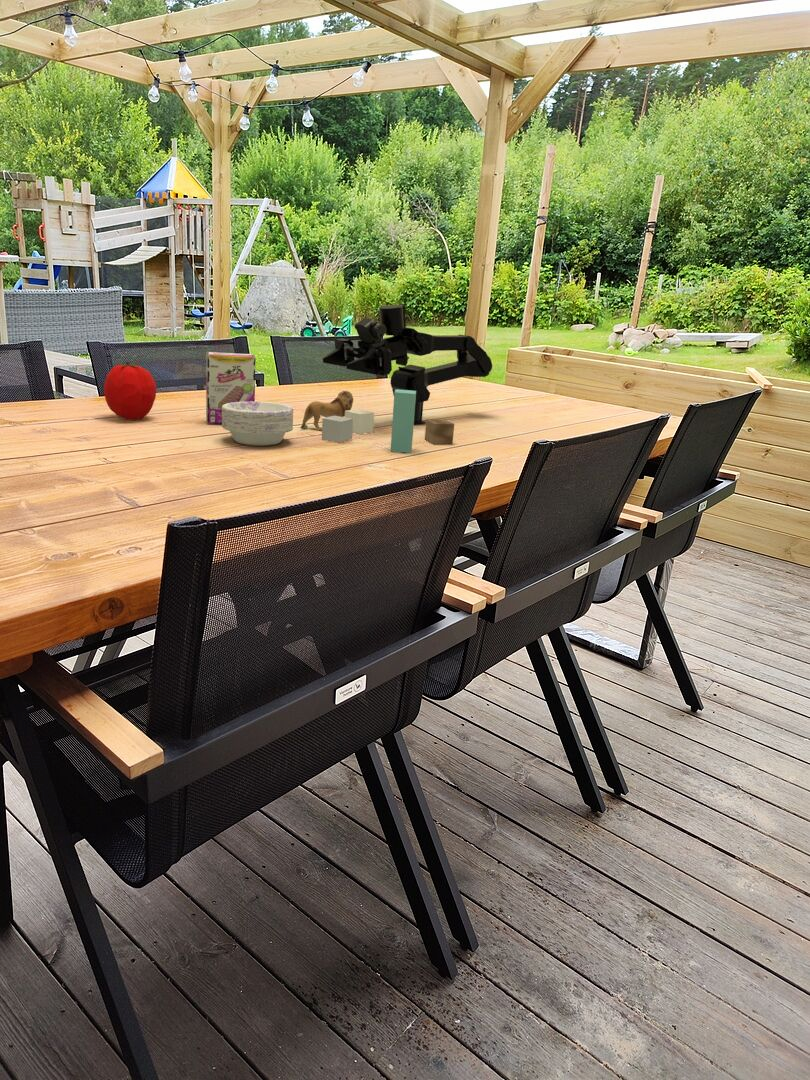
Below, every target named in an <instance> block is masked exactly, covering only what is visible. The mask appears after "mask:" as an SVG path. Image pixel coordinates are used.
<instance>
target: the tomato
mask: <svg viewBox="0 0 810 1080" xmlns="http://www.w3.org/2000/svg"><path fill="white" fill-rule="evenodd" d="M140 363H141V362H136V363H131V364H130V361H126V363H125V364H124V363H119V364H116V365H114V366H113V367H112V368H111V369H110V370H109V372H108V373H107V375H106V378H105V380H104V384H103V387H104V388H103V391H104V392H103V393H104V398H105V402H106V405H107V406H108V408H109V409H110V411H111V412H113V413H114V414H115V415H116V416H117V417H119V418H122V419H125V420H129V419H130V420H131V421H137V420H141V419H143V418H145V417H146V416H147V415H148V414H149V413H150V411H151V410H152V408H153V406H154V403H155V400H156V396H157V395H156V394H157V391H158V390H157V386H156V381H155V379H154V377H153V376H152V374H151V372H150V371H148V370H147V369H145V368H143V367H141V366H140V365H138V364H140Z"/></svg>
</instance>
